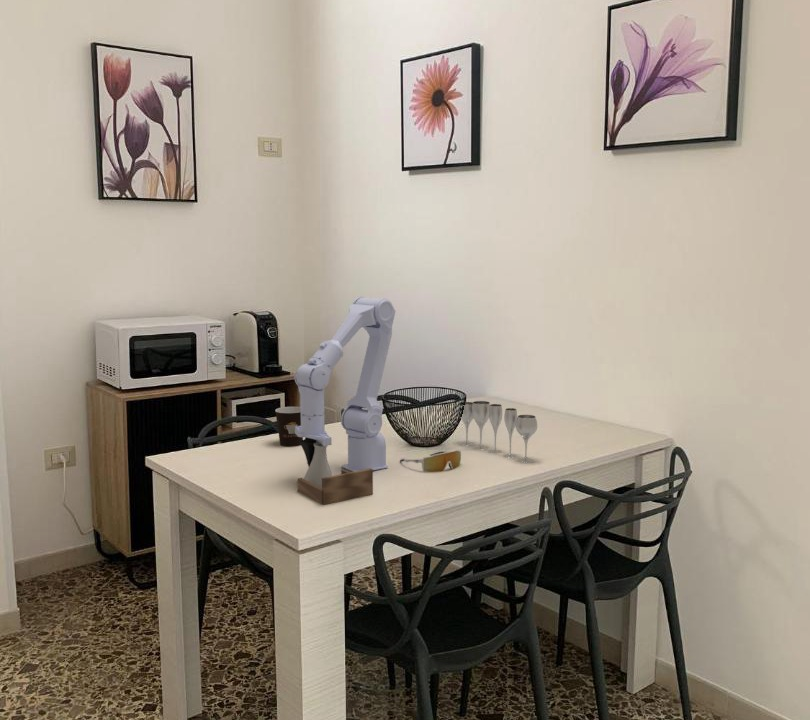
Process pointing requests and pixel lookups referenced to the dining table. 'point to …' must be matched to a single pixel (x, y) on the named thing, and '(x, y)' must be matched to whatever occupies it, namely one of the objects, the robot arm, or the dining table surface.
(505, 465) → the dining table surface
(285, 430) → the coffee mug
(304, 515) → the dining table surface
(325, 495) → the shelf bay
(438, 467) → the sunglasses
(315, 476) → the flask
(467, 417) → the goblet set
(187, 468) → the dining table surface
